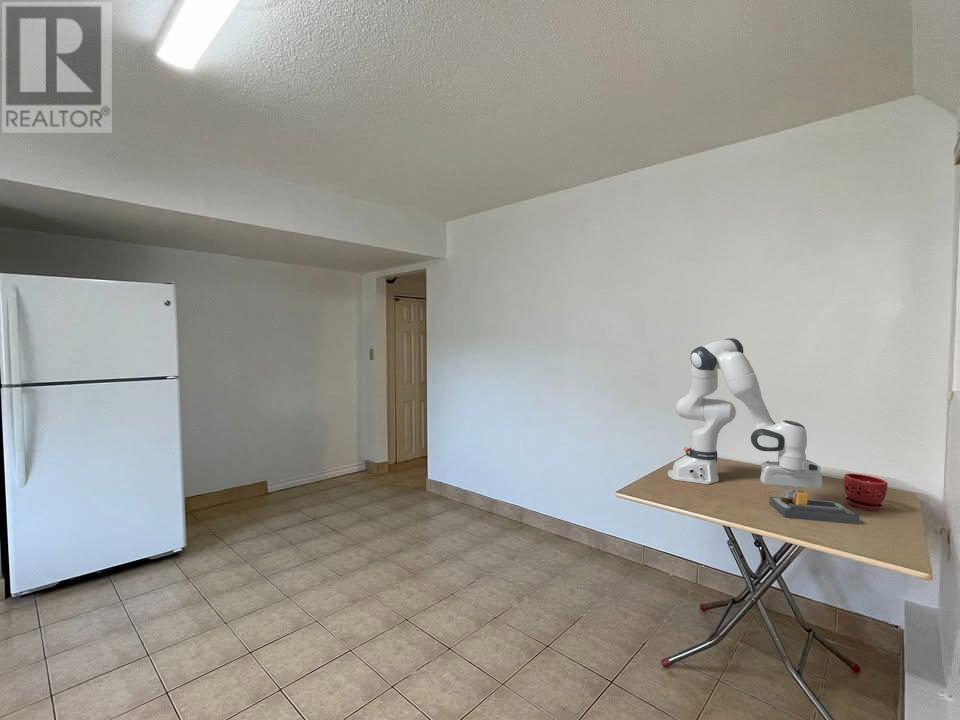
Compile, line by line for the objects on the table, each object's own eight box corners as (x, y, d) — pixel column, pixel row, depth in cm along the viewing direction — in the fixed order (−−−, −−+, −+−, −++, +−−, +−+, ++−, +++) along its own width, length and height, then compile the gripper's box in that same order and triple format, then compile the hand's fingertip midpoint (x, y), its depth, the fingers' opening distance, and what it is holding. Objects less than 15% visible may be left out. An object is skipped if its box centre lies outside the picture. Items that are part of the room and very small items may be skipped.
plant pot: (881, 515, 167) (882, 485, 167) (838, 504, 178) (840, 476, 177) (889, 508, 175) (891, 479, 174) (848, 498, 186) (849, 470, 185)
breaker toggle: (798, 506, 167) (798, 493, 167) (792, 501, 172) (792, 489, 172) (807, 506, 167) (807, 494, 166) (800, 502, 171) (801, 489, 171)
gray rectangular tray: (784, 517, 164) (785, 506, 164) (769, 503, 178) (769, 493, 178) (858, 524, 159) (859, 513, 159) (836, 509, 173) (837, 499, 172)
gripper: (764, 462, 168) (763, 497, 169) (825, 467, 164) (823, 503, 164) (758, 458, 175) (757, 492, 175) (817, 462, 170) (815, 497, 171)
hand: (789, 497), depth 170 cm, fingers closed
